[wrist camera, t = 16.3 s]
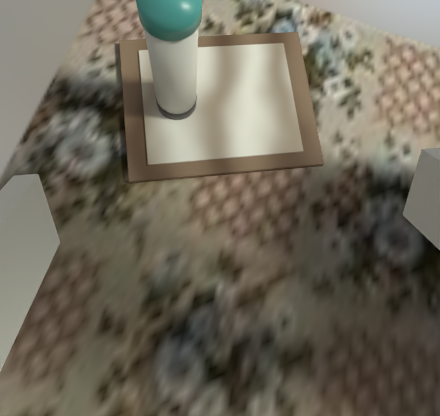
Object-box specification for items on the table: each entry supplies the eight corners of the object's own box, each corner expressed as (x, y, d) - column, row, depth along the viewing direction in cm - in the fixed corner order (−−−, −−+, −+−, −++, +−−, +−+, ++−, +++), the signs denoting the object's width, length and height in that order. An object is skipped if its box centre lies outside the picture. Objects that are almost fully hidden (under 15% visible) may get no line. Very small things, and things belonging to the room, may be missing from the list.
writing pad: (296, 35, 41) (298, 30, 40) (321, 165, 37) (324, 163, 36) (120, 44, 38) (118, 39, 38) (129, 183, 35) (128, 180, 34)
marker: (196, 82, 37) (199, -37, 24) (199, 120, 36) (204, 19, 23) (154, 83, 37) (133, -37, 23) (156, 122, 36) (135, 20, 22)
